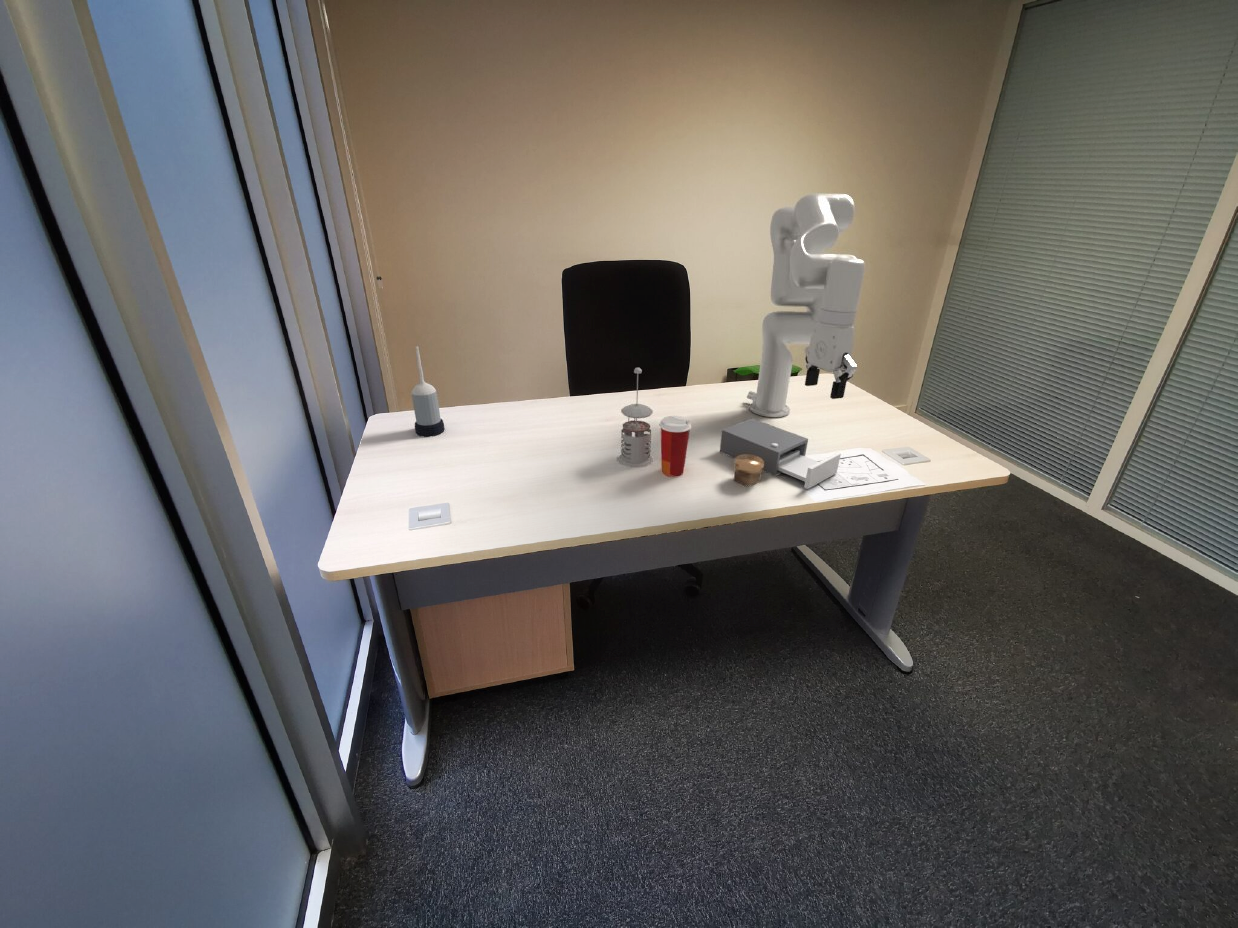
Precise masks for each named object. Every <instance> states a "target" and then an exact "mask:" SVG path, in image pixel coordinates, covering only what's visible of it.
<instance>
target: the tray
mask: <svg viewBox="0 0 1238 928" xmlns="http://www.w3.org/2000/svg"><path fill="white" fill-rule="evenodd" d="M840 459H841V453H840V452H836V453H833V454H831V455H830V456H828V457H825V458H824V459H821V460H820V461H818V460H815V459H812V458H810V457H808V456H806V455H805V456H803V455H800V451H799V450H796V451H794V452H793V451H790V450H789V451H787V452H785V453H783V454H781V455H780V459H779V465H778V470H779V471H781V472H782V473H783V474H786V475H788V476H791V477H793V478H795V479H798V480H800V481H803V482H804V487H803V488H805V489H806V490H809V489H811V488H813V487H814V486H817V484H820V483H822V482H823V481H825V480H828V479H829V478H830V477H832V476H834V475H836V474H837V472H838V468H839V464H840Z"/></svg>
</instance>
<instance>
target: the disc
mask: <svg viewBox="0 0 1238 928" xmlns="http://www.w3.org/2000/svg"><path fill="white" fill-rule="evenodd" d="M733 464H734V465H733V469H734V471H735V470H736V471H738V472H740V473H743V474H747V475H756V474H760V473H761V474H762V473H763V472H764V471H763V468H764V460H763V459H762V458H760V457H758V456H755V455H748V454H744V455H739V456H737V457H736V458H734V462H733Z"/></svg>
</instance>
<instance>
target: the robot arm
mask: <svg viewBox="0 0 1238 928" xmlns="http://www.w3.org/2000/svg"><path fill="white" fill-rule="evenodd" d="M855 207H856V206H855V202H854V200H853V198H852V197H851V196H849V195H848V194H847V193H846V194H845V193H809V194H806V195H804V196H802V197H801V198H800V199H799V200H798V201H797V202H796V204H795V206H793V205H792V206H785V207H781V208H779V209H776V211H775V212H774V213H773V215H772V217H771V221H770V225H769V226H770V227H769V228H770V229H769V231H770V241H771V247H772V251H773V265H772V272H771V273H772V274H771V287H770V300H771V303H772V304H773V305H775V306H779V307H788V308H789V307H791V308H792V307H793V308H794V307H795V308H796V307H799V308H801V307H802V308H806V311H795V310H793V311H792V310H791V311H790V310H780V311H772V312H770V313H768V314H766V316H764V318H763V321H762V329H761V331H762V346H761V347H762V348H761V357H760V364H759V371H758V372H759V374H758V380H757V388H756V392H755V391H752V390H750V391H748V394H747V395H746V398H747V399H749V400H751V401H752V402H751V403H750V404H749V410H750V411H751V412H752V413H754V414H756V415H759V416H761V417H766V418H767V417H768V418H782V417H786V416H788V415H789V414H790V412H791V409H790V407H789V406H788V405H787V398H788V392H789V387H790V380H791V374H792V367H793V361H794V360H793V355H792V352H791V351H790V350H789V349H788V347H787V345H808V346H807V347H805V348H804V353H805V363H806V365H805V367H806V368H805V369H806V376H805V381H804V386H806V387H812V386H817V385H818V383H819V379H820V378H819V377H820V371H821V370H823V371H825V372H828V373H833V376H834V380H833V382H832V386H831V391H830V399H831V400H835V399H842V398H844V397H845V392H846V387H847V382H848V383H849V382H850V379H852V378H853V376H854V374H855V372H857V370H858V366H857V364H856V363H855V361H854V359H852V356H853V351H854V344H855V343H854V341H855V327H854V326H855V321H856V316H857V311H858V307H859V302H860V296H861V291H862V286H863V282H864V281H863V280H864V277H865V271H866V263H865V261H864V260H863V259H861V258H857V257H856V256H855V255H853V254H843V253H824V252H827V251H828V250H830V249H831V248H832V247H833V246H834V245H835V243H836V242H837V241H838V239H839V235H840V234H842V233H844V232H845V231H846V230H847V229H849V228H850V227H851V224H852V223H853V220H854V217H855V211H856V208H855ZM840 373H841V375H840Z"/></svg>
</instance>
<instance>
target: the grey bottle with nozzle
mask: <svg viewBox="0 0 1238 928" xmlns="http://www.w3.org/2000/svg"><path fill="white" fill-rule="evenodd" d="M415 353H416V359H417V360H416V361H417V367H418V372H419V383H418V384H416V385H415V386H414V387H413V388H412V390H411V399H412V404H413V410H414V415H415V416H414V417H415V423H414V431H415V434H417V436H419V437H421V436H424V437H423V438H430V436H432V437H436V436H440V435H441V433H442V434H443V433H444V432H445V431H446V430H445V429H446V428H445V422H444V420H443V419H442V418H441V413H440V407H439V406H440V405H439V400H438V399H439V398H438V394H437V393H438V392H437V389H436V388H435V387H434V386H433V385H432V384H430V383H428V382H426V381H425V380H424V372H423V367H422V361H421V360H422V359H421V355H420V350H419V346H415ZM444 430H445V431H444Z"/></svg>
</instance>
